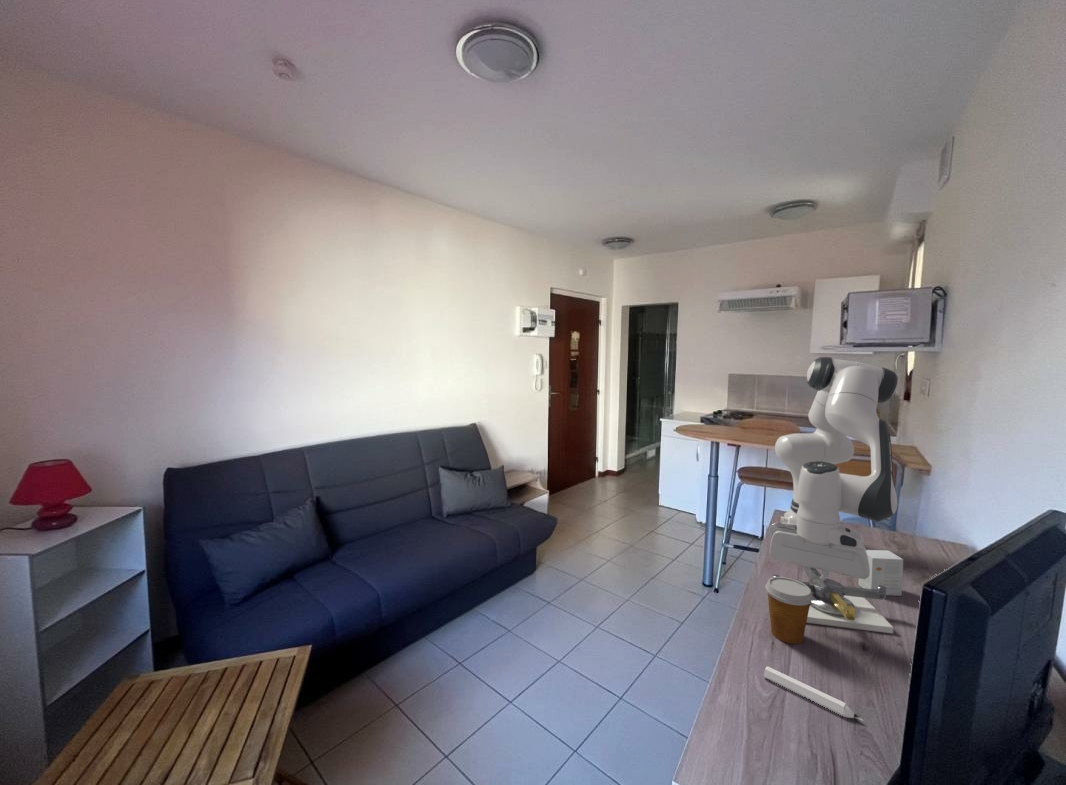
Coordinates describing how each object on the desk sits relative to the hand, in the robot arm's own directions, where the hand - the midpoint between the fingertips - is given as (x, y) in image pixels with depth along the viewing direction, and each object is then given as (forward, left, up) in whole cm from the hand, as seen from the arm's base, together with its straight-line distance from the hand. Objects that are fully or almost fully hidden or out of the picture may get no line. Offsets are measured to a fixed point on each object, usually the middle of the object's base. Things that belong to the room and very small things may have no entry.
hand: (815, 584), depth 104 cm
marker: (+27, -10, -10) cm, 30 cm away
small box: (-21, +24, -10) cm, 33 cm away
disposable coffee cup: (+7, -8, -10) cm, 15 cm away
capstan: (-8, +6, -8) cm, 12 cm away
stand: (-8, +6, -10) cm, 14 cm away
